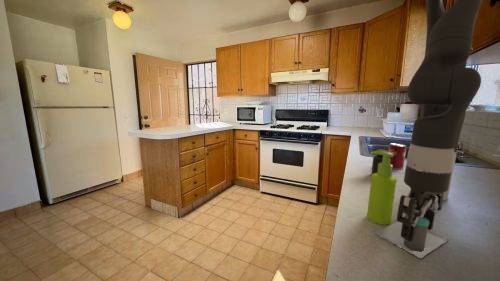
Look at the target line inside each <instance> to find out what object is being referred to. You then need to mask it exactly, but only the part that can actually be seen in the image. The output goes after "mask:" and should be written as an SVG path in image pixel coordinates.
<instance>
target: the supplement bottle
mask: <svg viewBox="0 0 500 281" xmlns="http://www.w3.org/2000/svg"><path fill="white" fill-rule="evenodd" d="M375 151H383V152H388V153H389V150H387V149H376V150H375ZM382 160H383V155H379V154H374V155H373V157H372V162H371V163H372V164H371V173H370V174H371V175H372V174H374V173H377V171H378V164H379V163H381V162H382ZM390 160H391V159H390Z"/></svg>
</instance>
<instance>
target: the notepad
mask: <svg viewBox="0 0 500 281" xmlns="http://www.w3.org/2000/svg"><path fill="white" fill-rule="evenodd" d="M401 230H402V223H401V222H399V221H396V222H394V223H392V224H389V225H387V226H385V227H384V228H381V229H379V230H377V231H375V235H376V234H378V235H380V236H382V237H383V238H386V239H387V240H389V241H391V242H393V243H395V244H397V245H399V246H401V247H402V248H405V249H406V250H408V251H411V252H413V250H411V249H409V248H407V247H406V246H405V245H404V238H402V237H401ZM378 235H377V236H378ZM380 236H379V237H380ZM383 238H382V239H383ZM387 240H386V241H387ZM446 240H448V241H449V239H448V238H447V237H444V236H442V235H440V234H437V233H436V232H433V231H431V230H427V236H426V241H425V247H424V248H426V247H427V248H428V245H429V247H431V245H434V247H435V245H436V247H437V245H438V246H439V245H440V244H442V243H443V242H445V241H446Z"/></svg>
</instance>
